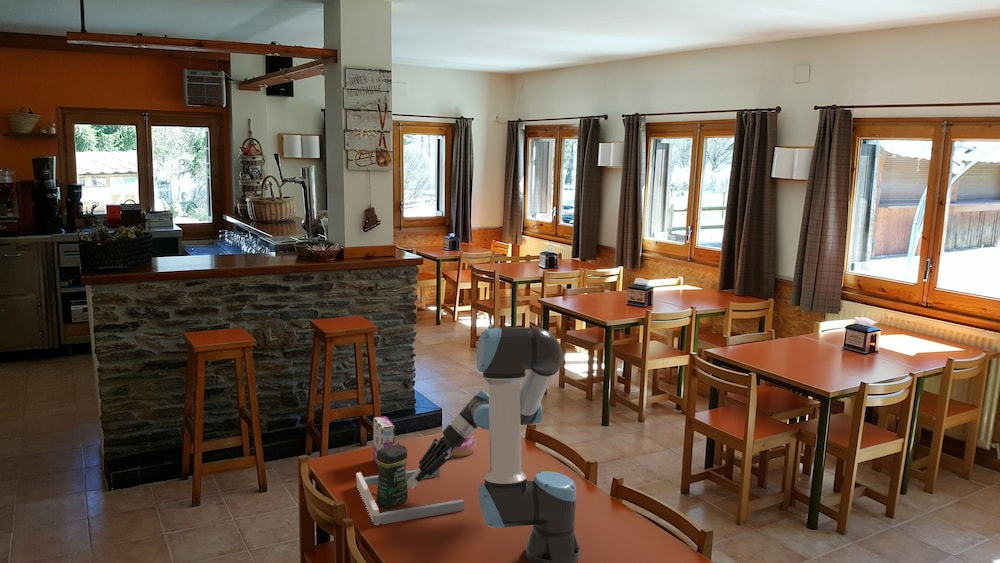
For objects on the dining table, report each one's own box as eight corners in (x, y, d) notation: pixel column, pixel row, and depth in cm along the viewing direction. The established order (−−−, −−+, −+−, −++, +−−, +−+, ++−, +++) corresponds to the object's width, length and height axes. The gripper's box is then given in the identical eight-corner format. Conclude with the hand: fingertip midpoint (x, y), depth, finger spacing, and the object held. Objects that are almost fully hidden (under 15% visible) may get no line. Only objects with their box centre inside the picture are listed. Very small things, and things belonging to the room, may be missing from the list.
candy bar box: (395, 470, 255) (395, 426, 252) (381, 472, 252) (381, 428, 250) (386, 458, 265) (386, 415, 262) (372, 460, 262) (372, 417, 260)
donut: (447, 461, 264) (448, 448, 263) (432, 447, 276) (432, 434, 275) (482, 454, 270) (483, 441, 269) (465, 440, 283) (466, 428, 282)
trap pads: (416, 516, 223) (416, 515, 223) (384, 521, 220) (384, 520, 220) (397, 482, 245) (397, 482, 245) (367, 487, 241) (367, 486, 241)
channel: (463, 510, 228) (464, 495, 227) (374, 525, 217) (373, 510, 216) (438, 474, 252) (438, 461, 251) (356, 486, 242) (356, 472, 241)
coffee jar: (388, 511, 226) (387, 455, 222) (372, 502, 231) (371, 447, 228) (412, 500, 233) (411, 446, 229) (396, 492, 238) (396, 439, 235)
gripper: (472, 445, 233) (422, 502, 229) (459, 430, 245) (411, 484, 241) (457, 431, 230) (405, 489, 227) (444, 417, 242) (395, 471, 238)
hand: (408, 486), depth 234 cm, fingers closed
